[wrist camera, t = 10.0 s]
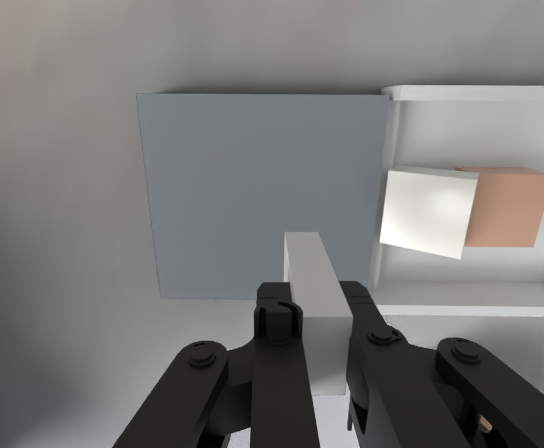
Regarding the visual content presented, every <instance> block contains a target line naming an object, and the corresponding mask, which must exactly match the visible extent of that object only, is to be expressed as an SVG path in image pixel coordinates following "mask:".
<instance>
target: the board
mask: <svg viewBox="0 0 544 448" xmlns="http://www.w3.org/2000/svg"><path fill="white" fill-rule="evenodd" d="M389 97H390V95H316V94H145V93H136V98H137V106H138V115H139V123H140V131H141V140H142V148H143V156H144V165H145V173H146V181H147V190H148V198H149V207H150V215H151V223H152V232H153V240H154V248H155V257H156V265H157V273H158V282H159V290H160V298H169V299H256V300H257V289H258V288H259V286H260V285H261V284H262V283H263V282H284V243H285V232H318V234H319V236H320V238H321V241H322V243H323V246H324V248H325V250H326V253H327V255H328V258H329V260H330V262H331V265H332V267H333V270H334V272H335V274H336V277H337V279H338V281H358V282H359V283H360V284H362V285H363V286H364V287H366V288H367V290H368V281H369V272H370V264H371V255H372V246H373V237H374V229H375V220H376V211H377V202H378V193H379V185H380V176H381V167H382V158H383V149H384V141H385V132H386V123H387V114H388V106H389Z"/></svg>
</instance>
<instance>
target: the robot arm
mask: <svg viewBox="0 0 544 448" xmlns="http://www.w3.org/2000/svg"><path fill="white" fill-rule="evenodd" d="M347 383H348V386H349V390H350V403H349V412H348V422H347V429H348V431H351V430H352V422H353V424H354V428H355V431H356V435H357V438H358V442H359V446H360V448H544V394H542V393H541V392H540V391H538V390H537V389H536V388H535V387H533V386H532V385H531V384H530V383H528V382H527V381H526V380H525V379H523V378H522V377H521V376H520V375H518V374H517V373H516V372H514V371H513V370H512V369H511V368H509V367H508V366H507V365H506V364H504V363H503V362H502V361H501V360H499V359H498V358H497V357H496V356H494V355H493V354H492V353H490V352H489V351H488V350H487V349H485V348H483V347H482V346H480V345H479V344H477V343H474V342H472V341H469V340H467V339H462V338H446V339H443V340H441V341H440V343H439V344H438V347H437V350H433V349H428V348H423V347H419V346H415V345H411V344H409V343H408V341H407V340H406V338H405V337H404V335H403V334H402V333H401V332H400V331H398V330H397V329H395V328H393V327H392V326H389V325H387V324H386V322H385V321H384V319H383V317H382V315H381V313H380V312H379V310H378V308H377V306H376V304H374V301H373V299H372V298H371V295H370V294H369V292H368V290H367V288H366V287H364V286H363V285H362V284H360V283H359V282H358V281H338V279H337V277H336V274H335V272H334V270H333V267H332V265H331V262H330V260H329V258H328V255H327V253H326V250H325V248H324V246H323V243H322V241H321V238H320V236H319V234H318V232H285V243H284V282H263V283H262V284H261V285H260V286H259V288H258V289H257V306H256V309H255V311H254V337H253V338H252V340H251V341H250V342H249V343H247V344H246V345H244V346H242V347H240V348H237V349H233V350H229V351H227V350H226V348H225V347H224V346H223V345H221V344H220V343H217V342H214V341H199V342H194V343H192V344H190V345H188V346H186V347H184V348H183V349H182V350H181V351H180V352H179V353H178V354H177V356H176V357H175V358H174V360H173V361H172V363H171V364H170V366H169V367H168V368H167V370H166V371H165V373H164V374H163V376H162V377H161V378H160V380H159V381H158V383H157V384H156V386H155V387H154V388H153V390H152V391H151V393H150V394H149V396H148V397H147V398H146V400H145V401H144V403H143V404H142V406H141V407H140V408H139V410H138V411H137V413H136V414H135V416H134V417H133V418H132V420H131V421H130V423H129V424H128V426H127V427H126V428H125V430H124V431H123V433H122V434H121V435H120V437H119V438H118V440H117V441H116V443H115V444H114V445H113V447H112V448H227V446H228V443H229V441H230V436H231V434H232V433H235V432H238V431H241V430H244V429H247V428H250V427H251V433H250V448H320V443H319V437H318V431H317V425H316V419H315V413H314V407H313V400H312V395H345V394H346V384H347ZM481 416H483V417H484V418H485V419H486V420H487V421H488V422H489V423H490V424H491V425H492V429H491V430H488V429H487V428H486V427H485V426H484V425H483V424H482V423H481V422H480V420H481Z"/></svg>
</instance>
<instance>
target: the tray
mask: <svg viewBox="0 0 544 448" xmlns="http://www.w3.org/2000/svg"><path fill="white" fill-rule="evenodd" d="M380 95H390V97H389V106H388V114H387V123H386V132H385V141H384V149H383V158H382V167H381V176H380V185H379V193H378V202H377V211H376V220H375V229H374V237H373V246H372V255H371V264H370V272H369V281H368V292H369V294H370V295H371V298H372V299H373V301H374V304H376V306H377V308H378V310H379V312H380V313H381V315H436V316H519V317H544V213H543V216H542V220H541V223H540V226H539V230H538V233H537V237H536V240H535V244H534V247H464V249H463V253H462V256H461V259H456V258H451V257H446V256H442V255H437V254H432V253H428V252H423V251H418V250H413V249H409V248H404V247H399V246H395V245H390V244H385V243H381V242H380V236H381V228H382V220H383V211H384V203H385V195H386V187H387V178H388V171H389V170H390V169H392V168H394V167H395V166H397V165H403V166H413V167H424V168H434V169H444V170H455V167H515V168H530V169H534V170H538V171H542V172H544V86H482V85H398V86H391V87H383V88H381V94H380Z"/></svg>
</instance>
